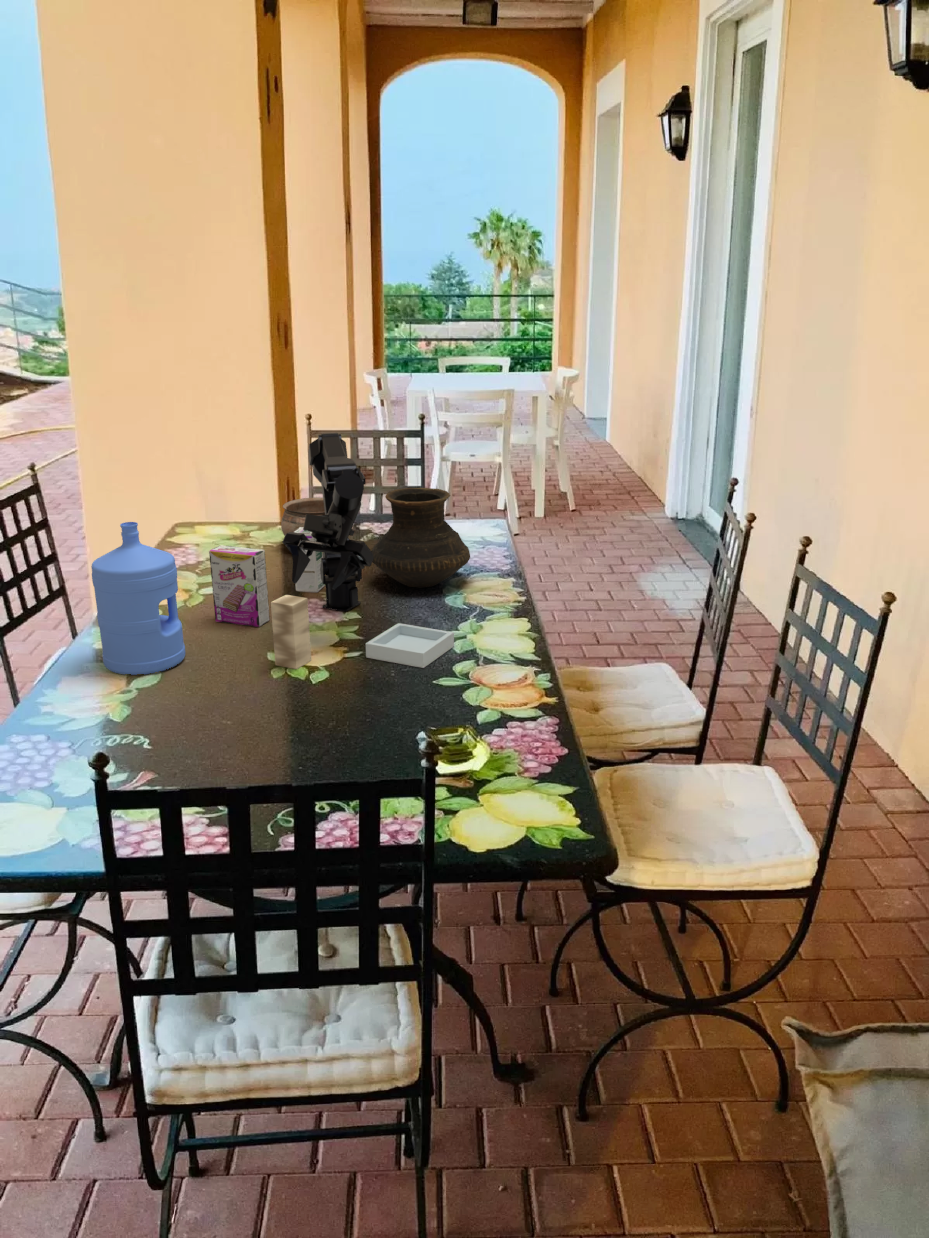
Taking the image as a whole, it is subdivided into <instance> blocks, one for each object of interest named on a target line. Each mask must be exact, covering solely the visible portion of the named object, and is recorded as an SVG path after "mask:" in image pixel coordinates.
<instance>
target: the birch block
mask: <svg viewBox="0 0 929 1238" xmlns="http://www.w3.org/2000/svg"><path fill="white" fill-rule="evenodd" d="M308 602H309V601H308V597H302V596H295V595H292V594H291V595H290V594H285V595H283V596H281V597H278V598H276V599H275V600H273V601H271V602H270V608H271V609H270V610H271V612H270V613H271V622H272V623H271V625H272V635H273V636H272V637H273V649H274V650H273V651H274V662H275V666H277V667H283V668H289V669H293V670H298V669H299V668H301V667H303V666H305V665H306V664H308V663H310V662H311V661H312V650H311V649H312V647H311V638H310V637H311V632H310V618H309V603H308Z"/></svg>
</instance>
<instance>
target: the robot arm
mask: <svg viewBox="0 0 929 1238" xmlns="http://www.w3.org/2000/svg"><path fill="white" fill-rule="evenodd" d="M347 449H348V448H347V442H346V441H345V440H343V438H342V435H341V433H338V432H329V433H328V432H324V433H321V434H318V435H317V438H316V439H315V440H313V441H311V442H310V443H309V444H308V451H307V453H308V454H307V455H308V463H309V466H312V467H311V468H312V474H313V476H314V477H315V478H316V479H317V481H318V482H319V483H320V484H321V491H322V492H321V493H322V497H323V502H324V510H325V515H322V516H318V515H309V514H306V517H305V523H304V528H303V530H305V531H306V530H308V531H310V532H312V534H311V535H312V537H313V538H316V539H317V540H316V542H315V541H310V540H309V539H308V538H307V537H306V536H305V535H304V534H303V533H295V532H289V533H286V535H285V536H284V537H283V539H282V542H281V543H282V544H283V545H284V547H286V548H287V550H288V551H289V552H290V553H291V556H292V572H291V573H292V574H291V579H292V580H291V582H292V583H293V584H296V583H297V581H298V580H299V579H300V577H301V575H302V574H303V572H304V570H305V569H306V567H307V565H308V564H309V562H310V559H309V556H311V555H312V553H313V551H318V552H323V558H321V566H320V574H321V580H322V583H323V584H325V586H324V587H325V599H326V600H325V601H326V603H324V604H323V605H322V608H323V609H327V610H333V611H339V612H348V611H350V610H352V609H354V608H355V607H358V606H359V605H361V603H362V602H361V601H359V590H358V589H359V587H358V586H357V582H358V583H359V582H361V580H362V579H363V576H362V575H363V573H362V571H363V569H365V567H368V568H369V567H371V566H372V563H373V562H372V561H373V559H374V557H373V553H372V549H370V548H369V546H368V545H367V544H366V543H365V542H364V541H362V540H356V539H355V540H354V539H350V538H349V537H350V536H351V537H352V536H354V533H355V530H354V529H353V526H354V524H355V521H356V519H357V517H358V514H359V512H360V510H361V507H362V498H363V493H364V489H365V485H366V477H365V475H364V474H363V472H362V470H361V469H360V467H358V466H357V463H356V461H355V460H354V459H352V458H348V451H347Z"/></svg>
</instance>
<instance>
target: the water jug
mask: <svg viewBox="0 0 929 1238" xmlns="http://www.w3.org/2000/svg"><path fill="white" fill-rule="evenodd" d="M119 526H120V528H121V532H120V533H121V534H120V535H121V538H122V539H121V540H122V543H121V545H120V546H118V547H116V548H115V549H112V550H111V551H109V552H107V553H105V554H103V555H101V556H99V557H98V558H96V559H95V560H93V561H92V563H91V579H92V580H91V581H92V584H93V589H94V597H95V603H96V604H95V605H96V615H97V616H96V617H97V624H98V627H99V633H100V641H101V647H102V663H103V665H104V667H105V668H106V669H107V670H109V671H110V672H112V673H115V674H120V675H125V674H131V675H130V676H138V675H137V674H144V675H151V674H155V672H157V673H160V672H159V671H161V672H164V671H167V670H169V668H170V669H172V668H174V667H175V666H178V665H179V664H180V663H182V662H183V660H184V659H185V657H186V644H185V643H184V642H185V641H184V632H183V624H182V621H181V620H180V619H179V611H178V603H177V601H178V600H177V593H178V590H179V584H178V571H177V570H178V569H177V564H176V559H175V556H174V555H173V554H172V553H170V552H168V551H165V550H161V549H159V548H155V547H152V546H150V545H146V544H143V543H141V542H140V537H139V536H140V531H139V529H138V526H139V525H138V522H135V521H127V522H126V521H125V522H122V523H120V525H119ZM164 600H167V601H166V602H167V611H168V612H167V613H168V615H164V614H160V610H159V609H160V608H159V606H160V604H161V602H162V601H164ZM177 664H178V665H177ZM171 667H172V668H171ZM166 669H167V670H166ZM150 673H151V674H150Z"/></svg>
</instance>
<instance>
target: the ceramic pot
mask: <svg viewBox="0 0 929 1238" xmlns="http://www.w3.org/2000/svg"><path fill="white" fill-rule="evenodd" d="M450 497H451V494H450V493H449V492H448V491H447V490H444V489H440V488H431V487H430V488H429V487H404V488H398V489H397V488H396V489H393V490H391V491H387V493H386V494H385V499H386V501H387V502H389V503H390V507H391V511H392V512H391V513H392V524H391V526H390V527H389V529H388V530H387V531H386V533H385V534H383V535H382V536H381V538H380V539H379V541H378V542H377V543H375V544H374V546H373V547H372V548H371V551H372V553H373V557H374V559H373V561H372V563H373V564H374V565H375V566H376V567H377V568H379V569H380V570H381V571H382V572H383V573H385V574H386V575H388V577H391V578H392V579H394V580H395V581H397V582H399V583H400V584H402V585H404V586H407V587H410V588H432V587H434V586H436V585H439V584H440V583H442V582H444V581H445V580H448V579H449V578H450V577H452V576H453V575H454V574H455V573H457V572H458V571H459V570H460V569H461V568H463V567H464V566H465V565H467V564H468V563H469V560H470V558H471V553H470V549H469V546H467V545H466V544H465V542H464V541H463V540H462V538H461V536H460V534H459V533H458V531H456V530H454V529H453V527H452V526H451V525H450V524H449V523H448V522H447V521H446V520H445V503H446V502H447V500H448V499H449V498H450Z"/></svg>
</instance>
